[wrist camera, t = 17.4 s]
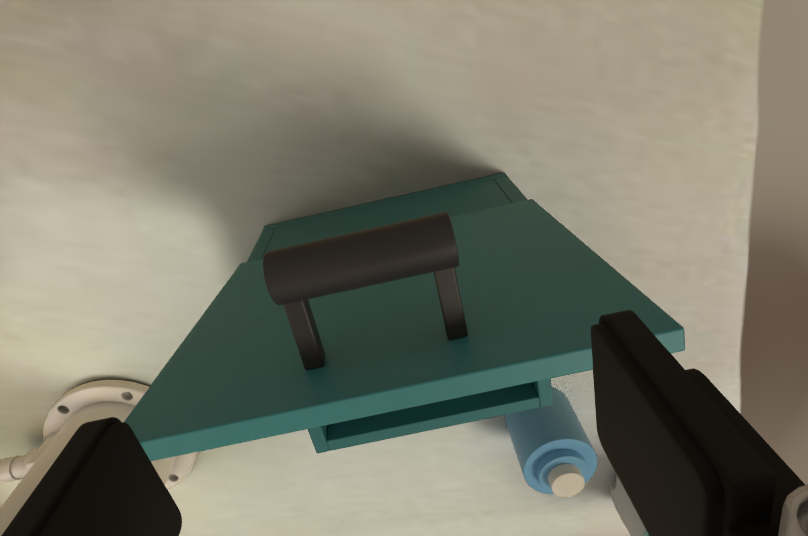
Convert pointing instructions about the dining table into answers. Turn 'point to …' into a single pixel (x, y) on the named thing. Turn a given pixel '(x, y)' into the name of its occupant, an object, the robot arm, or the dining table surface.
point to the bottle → (627, 510)
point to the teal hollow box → (391, 211)
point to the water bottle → (552, 447)
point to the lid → (387, 327)
